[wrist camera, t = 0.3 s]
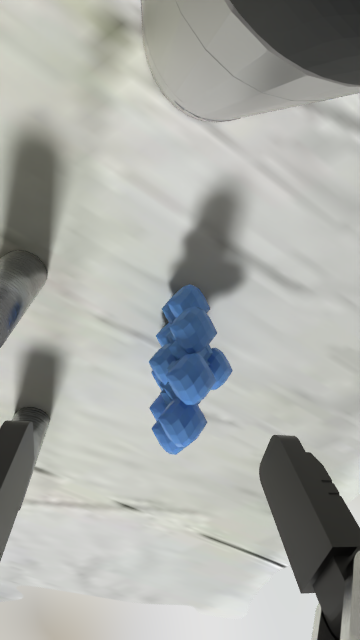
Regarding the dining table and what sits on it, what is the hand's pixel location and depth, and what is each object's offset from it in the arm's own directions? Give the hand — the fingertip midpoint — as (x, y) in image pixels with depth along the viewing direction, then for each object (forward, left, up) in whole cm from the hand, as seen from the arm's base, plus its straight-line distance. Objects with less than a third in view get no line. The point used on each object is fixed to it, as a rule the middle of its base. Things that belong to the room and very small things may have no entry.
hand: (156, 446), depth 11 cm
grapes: (+6, +4, -18) cm, 20 cm away
